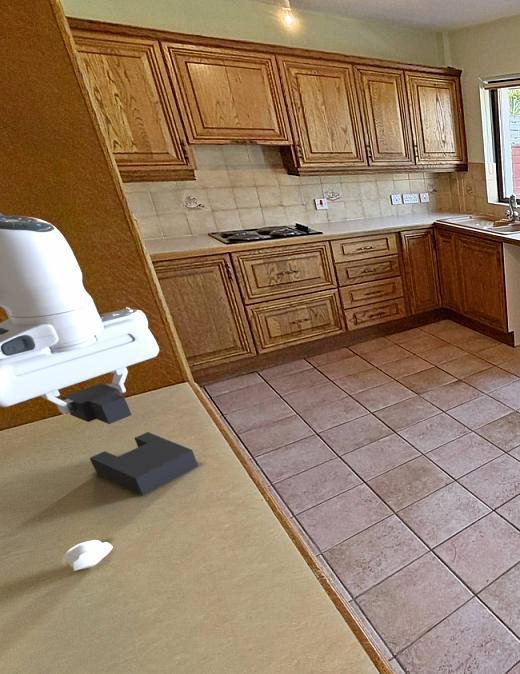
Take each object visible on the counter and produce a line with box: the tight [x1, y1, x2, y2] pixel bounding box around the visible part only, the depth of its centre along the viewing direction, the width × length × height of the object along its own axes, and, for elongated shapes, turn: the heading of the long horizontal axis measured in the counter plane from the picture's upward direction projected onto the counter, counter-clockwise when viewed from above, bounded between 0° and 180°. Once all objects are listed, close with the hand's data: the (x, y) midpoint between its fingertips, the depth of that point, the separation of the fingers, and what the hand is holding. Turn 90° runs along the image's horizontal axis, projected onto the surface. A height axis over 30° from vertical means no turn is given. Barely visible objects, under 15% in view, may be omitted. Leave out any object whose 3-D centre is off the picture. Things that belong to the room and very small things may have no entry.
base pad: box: [89, 431, 199, 496], centre depth 79 cm, size 12×8×4 cm, turn 69°
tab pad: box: [61, 383, 133, 425], centre depth 77 cm, size 8×5×4 cm, turn 69°
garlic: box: [60, 539, 113, 572], centre depth 62 cm, size 5×3×5 cm
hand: (94, 402), depth 78 cm, fingers closed on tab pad, 5 cm apart
